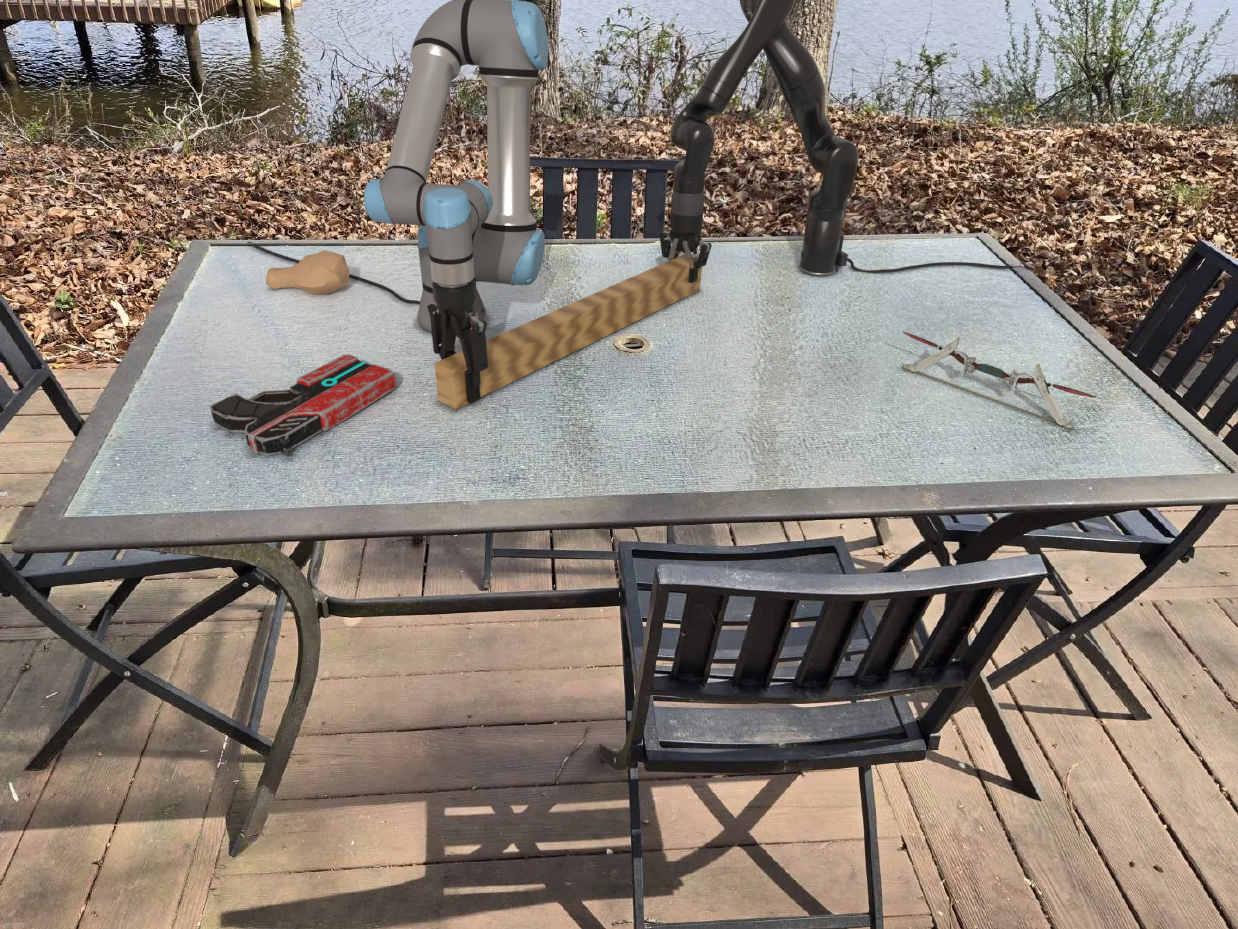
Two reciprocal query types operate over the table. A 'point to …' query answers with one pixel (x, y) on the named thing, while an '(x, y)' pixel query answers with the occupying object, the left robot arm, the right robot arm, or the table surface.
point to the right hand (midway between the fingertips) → (682, 278)
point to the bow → (1009, 379)
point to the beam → (567, 330)
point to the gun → (304, 405)
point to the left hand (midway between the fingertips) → (463, 394)
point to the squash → (312, 274)
